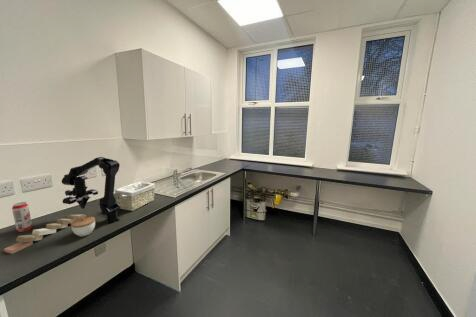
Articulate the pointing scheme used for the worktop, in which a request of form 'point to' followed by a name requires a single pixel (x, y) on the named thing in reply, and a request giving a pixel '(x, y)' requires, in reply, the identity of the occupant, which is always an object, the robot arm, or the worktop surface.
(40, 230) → the domino
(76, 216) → the domino
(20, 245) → the domino end
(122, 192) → the storage basket
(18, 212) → the beer can
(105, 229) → the worktop surface
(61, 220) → the domino
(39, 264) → the worktop surface
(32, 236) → the domino
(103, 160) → the robot arm
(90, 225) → the lidded jar
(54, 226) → the domino
